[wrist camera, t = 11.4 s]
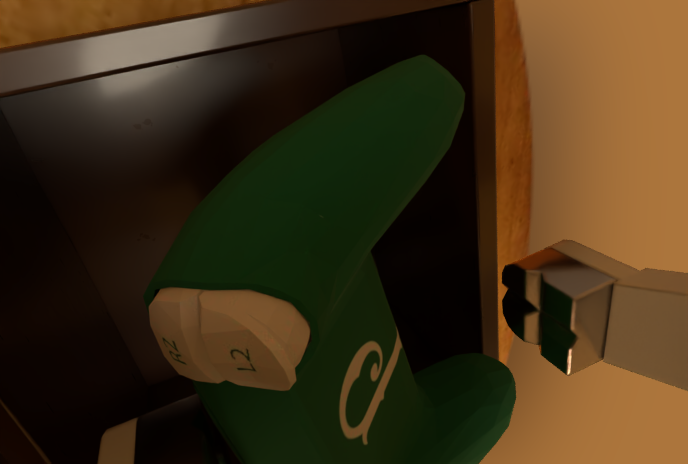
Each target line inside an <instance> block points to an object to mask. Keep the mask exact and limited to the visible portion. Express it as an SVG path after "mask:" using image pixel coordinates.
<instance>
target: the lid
mask: <svg viewBox="0 0 688 464" xmlns="http://www.w3.org/2000/svg"><path fill="white" fill-rule="evenodd" d="M0 464H10V463H9V462H8V461H7V459H6V458H5V457H4V456H3V455H2V453H1V452H0Z"/></svg>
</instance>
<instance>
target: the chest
mask: <svg viewBox="0 0 688 464" xmlns="http://www.w3.org/2000/svg"><path fill="white" fill-rule="evenodd" d="M419 55H426V56H428V57H430V58H432V59H433V60H435V61H436V62H437V63H439V64H440V65H441V66H442V67H444V68H445V69H446V70H448V72H449V73H450V74H451V75H452V76H453V77H454V78H455V79H456V80H457V81H458V82H459V83H460V84H461V86H462V88H463V90H464V92H465V101H464V110H463V113H462V116H461V118H460V121H459V124H458V127H457V129H456V132H455V135H454V138H453V140H452V143H451V146H450V148H449V149H448V150H447V152H446V153H445V155H444V156H443V158H442V159H441V160H440V162H439V163H438V165H437V166H436V168H435V169H434V170H433V172H432V173H431V175H430V176H429V178H428V179H427V180H426V182H425V183H424V184H423V186H422V187H421V188H420V189H419V191H418V192H417V193H416V194H415V195H414V197H413V198H412V199H411V200H410V202H409V203H408V204H407V205H406V207H405V208H404V209H403V210H402V212H401V213H400V214H399V215H398V217H397V218H396V219H395V220H394V222H393V223H392V224H391V225H390V227H389V228H388V229H387V230H386V231H385V233H384V234H383V235H382V236H381V238H380V239H379V240H378V241H377V243H376V244H375V245H374V246H373V248H372V249H371V250H370V251H371V254H372V257H373V260H374V262H375V265H376V268H377V271H378V274H379V277H380V280H381V283H382V286H383V289H384V292H385V295H386V298H387V301H388V304H389V307H390V310H391V313H392V315H393V318H394V321H395V324H396V327H397V330H398V333H399V336H400V339H401V342H402V345H403V348H404V351H405V354H406V357H407V360H408V363H409V365H410V368H411V371H412V374H415V373H417V372H419V371H421V370H423V369H425V368H427V367H429V366H431V365H433V364H435V363H438V362H440V361H443V360H445V359H447V358H450V357H452V356H454V355H460V354H468V353H479V354H485V355H487V356H490V357H492V358H494V359H496V360H498V361H499V340H498V260H497V180H496V99H495V19H494V0H267V1H261V2H255V3H250V4H244V5H239V6H233V7H228V8H222V9H216V10H211V11H205V12H200V13H194V14H188V15H183V16H177V17H172V18H166V19H161V20H155V21H149V22H144V23H138V24H133V25H127V26H121V27H116V28H110V29H105V30H99V31H94V32H88V33H82V34H77V35H71V36H66V37H60V38H55V39H49V40H43V41H38V42H32V43H27V44H21V45H15V46H10V47H4V48H0V452H1V453H2V455H3V456H4V457H5V458H6V459H7V461H8V462H9V463H10V464H97V462H98V455H99V449H100V442H101V438H102V436H103V434H104V433H105V431H106V429H109V428H111V427H114V426H116V425H119V424H121V423H124V422H127V421H129V420H132V419H134V418H137V417H139V416H140V415H143V414H145V413H148V412H151V411H153V410H156V409H158V408H161V407H163V406H166V405H169V404H171V403H174V402H176V401H179V400H181V399H184V398H186V397H189V396H192V395H194V394H197V392H196V390H195V388H194V387H193V382H192V379H190V378H188V377H185V376H182V375H180V374H178V372H177V371H176V370H175V369H174V367H173V366H172V365H171V364H170V363H169V361H168V360H167V359H166V358H165V357H164V355H163V352H162V350H161V348H160V346H159V343H158V341H157V339H156V337H155V334H154V332H153V330H152V328H151V325H150V318H149V314H148V311H147V308H146V305H145V302H144V298H143V295H144V293H145V291H146V289H147V287H148V285H149V283H150V281H151V280H152V278H153V276H154V275H155V273H156V271H157V269H158V268H159V266H160V264H161V263H162V261H163V259H164V257H165V256H166V254H167V252H168V251H169V249H170V247H171V245H172V244H173V242H174V240H175V239H176V237H177V235H178V234H179V232H180V230H181V228H182V227H183V225H184V223H185V222H186V220H187V218H188V216H189V215H190V213H191V212H192V211H193V210H194V209H195V208H196V207H197V206H198V205H199V203H200V202H201V201H202V200H203V199H204V198H205V197H206V196H207V195H208V194H209V193H210V192H211V191H212V190H213V189H214V188H215V187H216V186H217V185H218V184H219V183H220V182H221V181H222V180H223V179H224V177H225V176H226V175H227V174H229V173H230V172H231V171H232V170H233V169H234V168H235V167H236V166H237V165H238V164H239V163H240V162H241V161H243V160H244V159H245V158H246V157H247V156H248V155H249V154H250V153H251V152H252V151H253V150H255V149H256V148H257V147H259V146H260V145H261V144H263V143H264V142H265V141H267V140H268V139H269V138H271V137H272V136H273V135H275V134H276V133H278V132H279V131H281V130H283V129H284V128H286V127H287V126H289V125H290V124H292V123H293V122H295V121H297V120H298V119H300V118H301V117H303V116H304V115H306V114H307V113H309V112H311V111H312V110H314V109H315V108H317V107H318V106H320V105H321V104H323V103H325V102H326V101H328V100H329V99H331V98H332V97H334V96H335V95H337V94H339V93H340V92H342V91H343V90H345V89H346V88H348V87H350V86H352V85H354V84H356V83H358V82H360V81H362V80H364V79H366V78H368V77H370V76H372V75H374V74H376V73H378V72H380V71H382V70H384V69H386V68H388V67H390V66H392V65H394V64H396V63H398V62H401V61H403V60H406V59H410V58H413V57H416V56H419ZM212 422H213V421H212ZM213 424H214V423H213ZM224 440H225V439H224ZM225 443H226V446H227V448H228V452H229V456H230V460H231V463H232V464H241V463H240V461H239V460H238V458H237V457H236V455H235V454H234V453H233V451H232V450H231V448H230V447H229V445H228V444H227V442H226V441H225Z"/></svg>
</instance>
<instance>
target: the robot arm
mask: <svg viewBox="0 0 688 464" xmlns="http://www.w3.org/2000/svg"><path fill="white" fill-rule="evenodd" d="M502 283H503V284H504V286H505V287H506V288H507V289H508V290H507V292H506V294H505V296H504V298H503V300H502V307H503V315H504V317H505V319H506V322H507V324H508V326H509V327H510V328H511V330H512V331H513V332H514V333H515V334H516V335H517V336H518V337H519V338H520V339H522V340H523V341H524V342H528V343H532V344H536V345H539V349H540V353H541V355H542V356H543V357H544V358H546V359H547V360H548V361H549V362H551V363H552V364H553V365H555V366H556V367H557V368H558V369H560V370H561V371H562V372H563V373H565V374H566V375H567V376H570V375H572V374H574V373H576V372H578V371H580V370H582V369H584V368H586V367H588V366H590V365H593V364H595V363H597V362H599V361H601V360H603V359H604V360H603V362H605V363H608V364H611V365H614V366H617V367H620V368H623V369H626V370H629V371H631V372H635V373H637V374H640V375H643V376H646V377H649V378H652V379H655V380H658V381H660V382H664V383H666V384H669V385H672V386H675V387H678V388H681V389H684V390H687V391H688V273H682V272H674V271H665V270H657V269H649V268H645V269H643V270H641V271H639V270H637V269H635V268H633V267H631V266H628V265H626V264H624V263H622V262H619V261H617V260H615V259H613V258H611V257H608V256H606V255H604V254H602V253H599V252H597V251H595V250H592V249H591V248H588V247H586V246H584V245H582V244H579V243H577V242H575V241H572V240H562V241H560V242H558V243H555V244H553V245H551V246H549V247H546V248H545V249H544V250H541V251H538V252H536V253H534V254H531V255H529V256H527V257H524V258H522V259H519V260H517V261H515V262H512V263H510V264H508V265H505V267H504V269H503V272H502ZM97 464H232V463H231V460H230V456H229V452H228V448H227V446H226V443H225V440H224V438H223V437H222V435H221V434H220V432H219V430H218V429H217V427H216V426H215V424H213V422H212V419H211V418H210V416H209V415H208V413H207V411H206V409H205V407H204V405H203V403H202V401H201V400H200V398H199V396H198V394H194V395H192V396H189V397H186V398H184V399H181V400H179V401H176V402H174V403H171V404H169V405H166V406H163V407H161V408H158V409H156V410H153V411H151V412H148V413H145V414H143V415H140V416H139V417H137V418H134V419H132V420H129V421H127V422H124V423H121V424H119V425H116V426H114V427H111V428H109V429H106V431H105V433H104V434H103V436H102V438H101V442H100V449H99V455H98V462H97Z"/></svg>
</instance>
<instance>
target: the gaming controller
mask: <svg viewBox="0 0 688 464" xmlns="http://www.w3.org/2000/svg"><path fill="white" fill-rule="evenodd" d="M464 101H465V92H464V90H463V88H462V86H461V84H460V83H459V82H458V81H457V80H456V79H455V78H454V77H453V76H452V75H451V74H450V73H449V72H448V70H446V69H445V68H444V67H442V66H441V65H440V64H439V63H437V62H436V61H435V60H433V59H432V58H430V57H428V56H426V55H419V56H416V57H413V58H410V59H406V60H403V61H401V62H398V63H396V64H394V65H392V66H390V67H388V68H386V69H384V70H382V71H380V72H378V73H376V74H374V75H372V76H370V77H368V78H366V79H364V80H362V81H360V82H358V83H356V84H354V85H352V86H350V87H348V88H346V89H345V90H343V91H342V92H340V93H339V94H337V95H335V96H334V97H332V98H331V99H329V100H328V101H326V102H325V103H323V104H321V105H320V106H318V107H317V108H315V109H314V110H312V111H311V112H309V113H307V114H306V115H304V116H303V117H301V118H300V119H298V120H297V121H295V122H293V123H292V124H290V125H289V126H287V127H286V128H284V129H283V130H281V131H279V132H278V133H276V134H275V135H273V136H272V137H271V138H269V139H268V140H267V141H265V142H264V143H263V144H261V145H260V146H259V147H257V148H256V149H255V150H253V151H252V152H251V153H250V154H249V155H248V156H247V157H246V158H245V159H244V160H243V161H241V162H240V163H239V164H238V165H237V166H236V167H235V168H234V169H233V170H232V171H231V172H230V173H229V174H227V175H226V176H225V177H224V179H223V180H222V181H221V182H220V183H219V184H218V185H217V186H216V187H215V188H214V189H213V190H212V191H211V192H210V193H209V194H208V195H207V196H206V197H205V198H204V199H203V200H202V201H201V202H200V203H199V205H198V206H197V207H196V208H195V209H194V210H193V211H192V212H191V213H190V215H189V216H188V218H187V220H186V222H185V223H184V225H183V227H182V228H181V230H180V232H179V234H178V235H177V237H176V239H175V240H174V242H173V244H172V245H171V247H170V249H169V251H168V252H167V254H166V256H165V257H164V259H163V261H162V263H161V264H160V266H159V268H158V269H157V271H156V273H155V275H154V276H153V278H152V280H151V281H150V283H149V285H148V287H147V289H146V291H145V293H144V295H143V298H144V302H145V305H146V308H147V311H148V314H149V318H150V325H151V328H152V330H153V332H154V334H155V337H156V339H157V341H158V343H159V346H160V348H161V350H162V352H163V355H164V357H165V358H166V359H167V360H168V361H169V363H170V364H171V365H172V366H173V367H174V369H175V370H176V371H177V372H178V374H180V375H182V376H185V377H188V378H190V379H192V382H193V387H194V388H195V390H196V392H197V394H198V396H199V398H200V400H201V401H202V403H203V405H204V407H205V409H206V411H207V413H208V415H209V416H210V418H211V419H212V421H213V423H214V424H215V426H216V427H217V429H218V430H219V432H220V434H221V435H222V437H223V438H224V439H225V441H226V442H227V444H228V445H229V447H230V448H231V450H232V451H233V453H234V454H235V455H236V457H237V458H238V460H239V461H240V463H241V464H479V463H480V461H481V460H482V459H483V458H484V457H485V455H486V454H487V453H488V452H489V451H490V450H491V449H492V447H493V446H494V445H495V444H496V443H497V441H498V440H499V439H500V437H501V436H502V434H503V433H504V432H505V430H506V429H507V428H508V426H509V423H510V419H511V415H512V411H513V408H514V404H515V400H516V390H515V381H514V378H513V375H512V373H511V372H510V370H509V368H507V367H506V366H505V365H504V364H503V363H502V362H500V361H498V360H496V359H494V358H492V357H490V356H487V355H485V354H479V353H468V354H460V355H454V356H452V357H450V358H447V359H445V360H443V361H440V362H438V363H435V364H433V365H431V366H429V367H427V368H425V369H423V370H421V371H419V372H417V373H415V374H412V371H411V368H410V365H409V363H408V360H407V357H406V354H405V351H404V348H403V345H402V342H401V339H400V336H399V333H398V330H397V327H396V324H395V321H394V318H393V315H392V313H391V310H390V307H389V304H388V301H387V298H386V295H385V292H384V289H383V286H382V283H381V280H380V277H379V274H378V271H377V268H376V265H375V262H374V260H373V257H372V254H371V251H370V250H371V249H372V248H373V246H374V245H375V244H376V243H377V241H378V240H379V239H380V238H381V236H382V235H383V234H384V233H385V231H386V230H387V229H388V228H389V227H390V225H391V224H392V223H393V222H394V220H395V219H396V218H397V217H398V215H399V214H400V213H401V212H402V210H403V209H404V208H405V207H406V205H407V204H408V203H409V202H410V200H411V199H412V198H413V197H414V195H415V194H416V193H417V192H418V191H419V189H420V188H421V187H422V186H423V184H424V183H425V182H426V180H427V179H428V178H429V176H430V175H431V173H432V172H433V170H434V169H435V168H436V166H437V165H438V163H439V162H440V160H441V159H442V158H443V156H444V155H445V153H446V152H447V150H448V149H449V148H450V146H451V143H452V140H453V138H454V135H455V132H456V129H457V127H458V124H459V121H460V118H461V116H462V113H463V110H464Z"/></svg>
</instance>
